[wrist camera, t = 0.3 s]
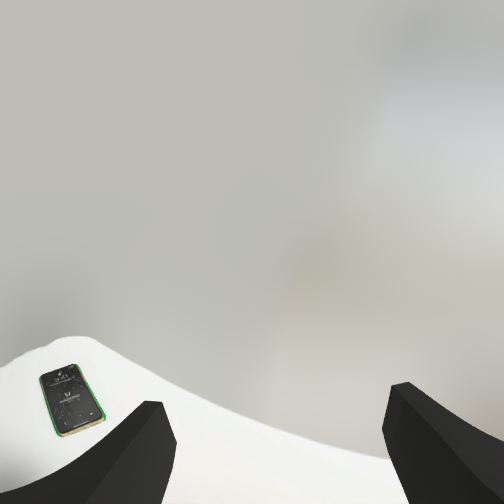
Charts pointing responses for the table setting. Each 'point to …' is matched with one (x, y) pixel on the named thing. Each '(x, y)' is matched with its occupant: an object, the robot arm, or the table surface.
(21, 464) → the table surface
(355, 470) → the table surface
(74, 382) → the smartphone
